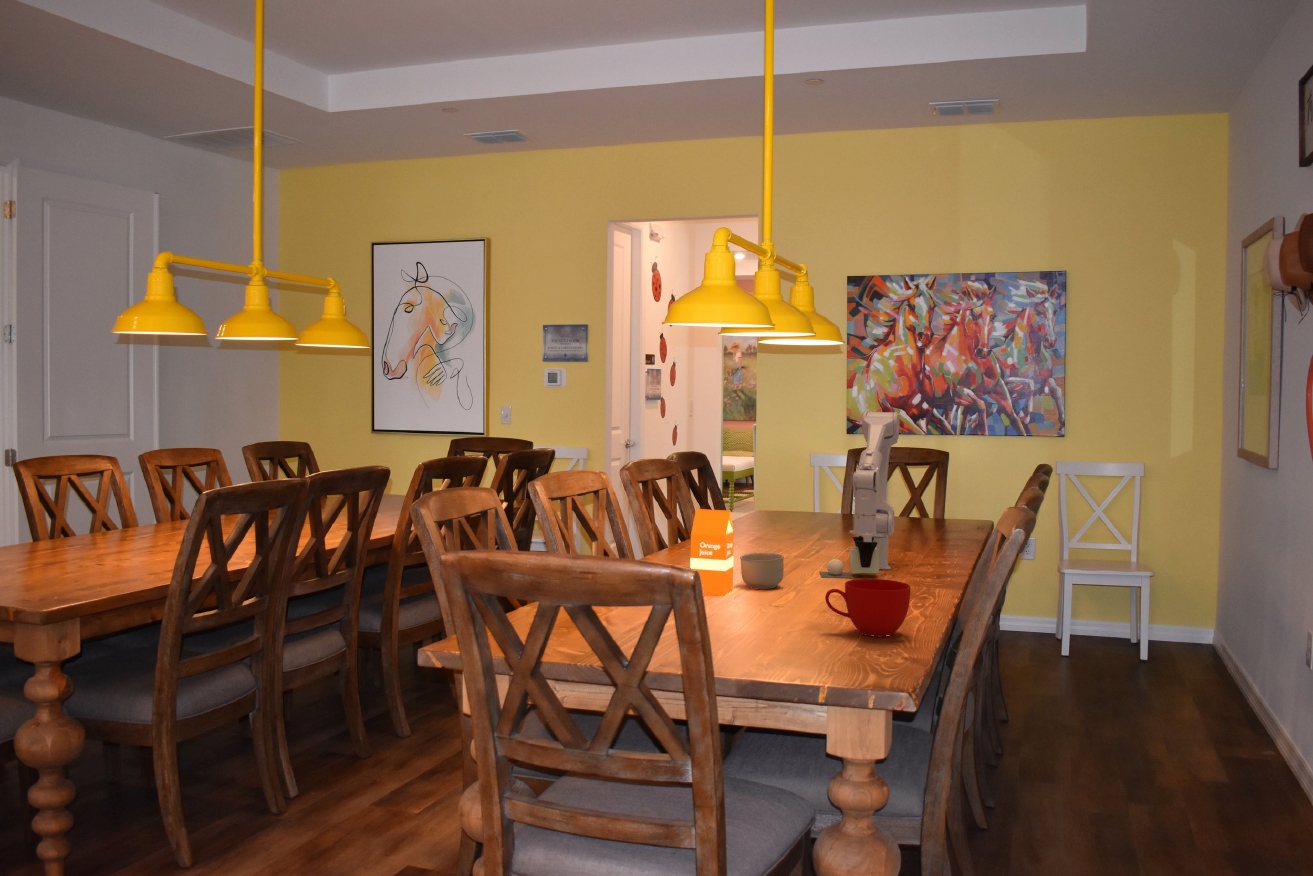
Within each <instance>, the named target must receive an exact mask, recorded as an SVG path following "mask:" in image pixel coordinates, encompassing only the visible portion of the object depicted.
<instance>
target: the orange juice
mask: <svg viewBox="0 0 1313 876" xmlns="http://www.w3.org/2000/svg"><path fill="white" fill-rule="evenodd" d="M693 518H694V519H693V524H692V527H691V533H690V560H689V561H690V562H689V563H690V564H689V569H690V568H691V569H694V570H697V571H698V572H699V573H700V576H701V580H702V584H703V590H704V594H703V595H706V594H707V595H708V596H719V595H723V596H722V597H726V596H727V595H728V594H729V592H730V591H731V592H733V591H734V587H733V585H734V546H735V545H734V544H735V541H734V535H735V534H734V533H735V531H734V526H733V521H732V514H731V510H725V509H724V510H722V509H721V510H720V509H705V508H700V509H699V508H696V510H695V514H694V517H693ZM732 590H733V591H732ZM731 592H730V593H731ZM705 593H706V594H705ZM727 593H728V594H727ZM709 594H710V595H709ZM726 594H727V595H726ZM725 595H726V596H725Z"/></svg>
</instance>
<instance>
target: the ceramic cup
mask: <svg viewBox="0 0 1313 876" xmlns="http://www.w3.org/2000/svg"><path fill="white" fill-rule="evenodd" d="M911 590H912V589H911V586H910V584H909V583H906V582H903V581H898V580H892V579H882V578H857V579H851V580H847V581H845V583H844V591H843V590H841V589H838V588H831V589H829V590H827V592H826V593H825V596H824V597H825V598H824V600H825V602H826V606H828V608H829V609H830V610H831V611H833V612H834V613H835V614H837V615H839V616H842V617H845V618H849V619H850V621H851V622H852V625H854V627H855V628H856V629H857V630H858V632H859V633H860V632H861V633H863V634H866V635H874V636H886V635H892V634H893V635H894V634H895V633H896V632H897V631H898V630H899V628H901V626H902V625H903V624H904V621H905V619H906V617H907V615H908V612H909V611H908V610H909V607H910V601H911V600H910V599H911ZM833 593H837V594H839V595H840V596H842V597H843V599H844V602H845V605H846V609H847V612H844V611H841V610H840V609H837V608H835V606H833V605H832V604H831V602H830V595H831V594H833ZM861 633H860V634H861ZM863 634H862V635H863ZM866 635H865V636H866ZM893 635H892V636H893Z"/></svg>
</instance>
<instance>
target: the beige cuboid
mask: <svg viewBox="0 0 1313 876" xmlns="http://www.w3.org/2000/svg"><path fill="white" fill-rule="evenodd" d="M849 568H850V571H851V573H852V574H875V573H877V574H879V573H880V569H879V552H878V548H877V547H875V550H874V552H873V555H872V560H871V565H870V568H863V567H861V562H860V554H859V550H858V547H856V546H849Z"/></svg>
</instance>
